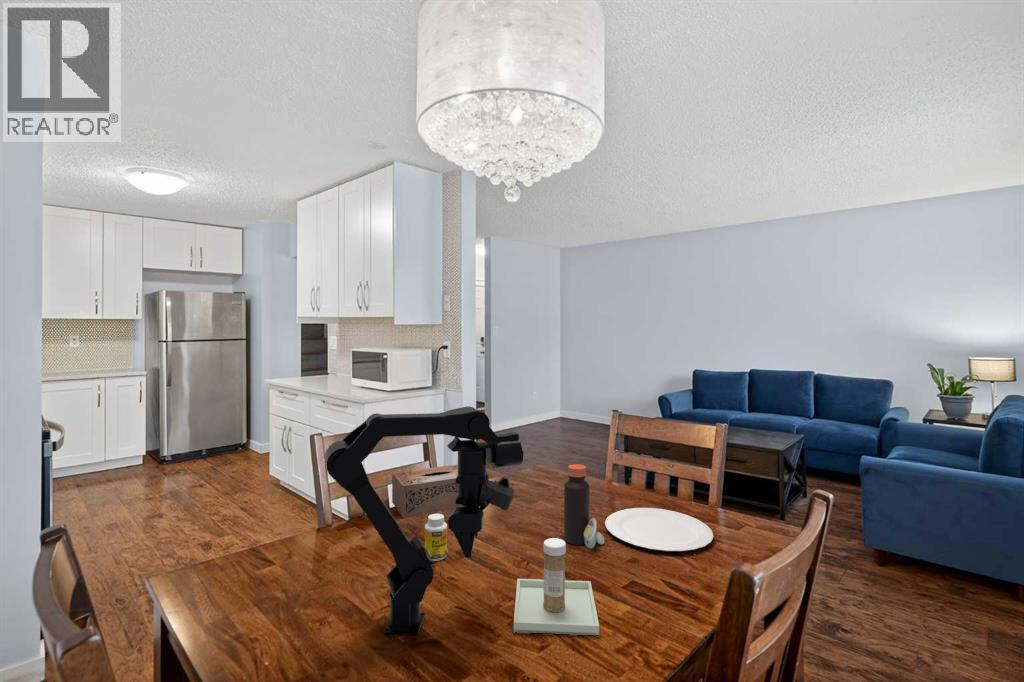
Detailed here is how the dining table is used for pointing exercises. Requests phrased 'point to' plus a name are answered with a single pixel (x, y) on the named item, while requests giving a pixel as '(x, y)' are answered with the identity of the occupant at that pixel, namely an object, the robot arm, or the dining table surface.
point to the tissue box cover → (425, 490)
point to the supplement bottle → (436, 537)
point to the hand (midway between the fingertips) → (471, 546)
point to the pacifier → (592, 534)
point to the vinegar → (576, 505)
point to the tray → (571, 620)
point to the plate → (659, 529)
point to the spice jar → (554, 574)
